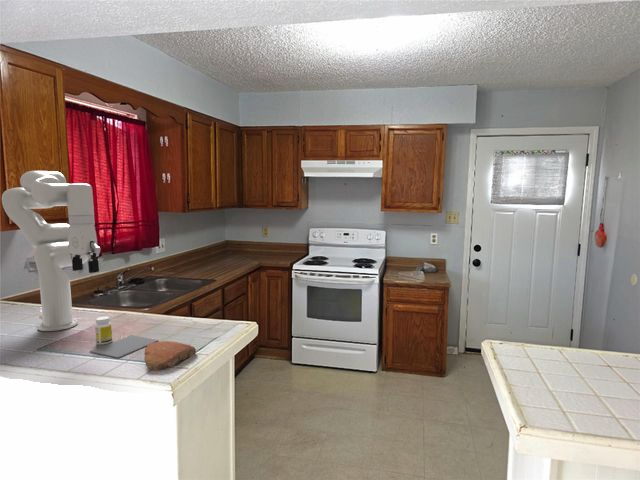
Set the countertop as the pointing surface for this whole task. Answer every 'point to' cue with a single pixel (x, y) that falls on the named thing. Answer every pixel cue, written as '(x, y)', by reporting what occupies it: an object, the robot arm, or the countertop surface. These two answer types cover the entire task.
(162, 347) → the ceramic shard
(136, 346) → the mat
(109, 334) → the supplement bottle
